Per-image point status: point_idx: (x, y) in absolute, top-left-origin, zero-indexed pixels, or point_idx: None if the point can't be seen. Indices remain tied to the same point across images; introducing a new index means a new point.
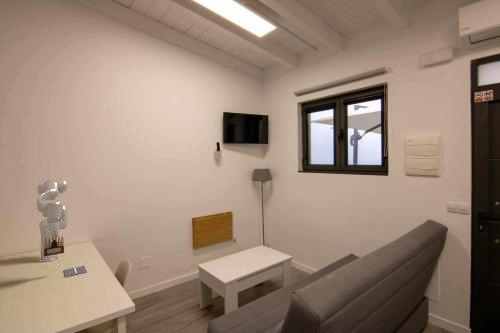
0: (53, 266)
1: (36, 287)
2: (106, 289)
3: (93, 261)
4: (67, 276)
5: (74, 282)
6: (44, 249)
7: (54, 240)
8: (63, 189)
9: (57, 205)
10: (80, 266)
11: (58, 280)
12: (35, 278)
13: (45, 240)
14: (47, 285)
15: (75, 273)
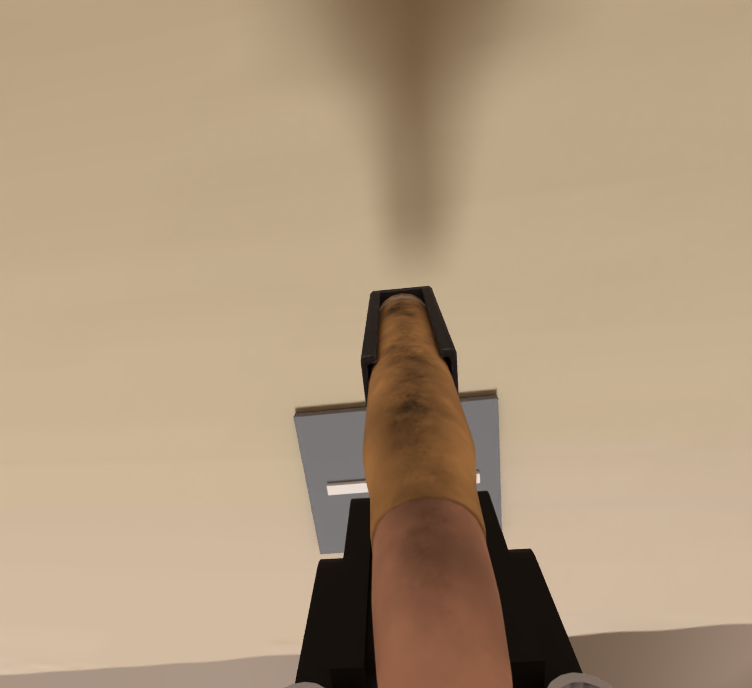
0: (723, 294)
1: (158, 211)
2: None
3: (591, 593)
4: (297, 429)
5: (141, 475)
6: (363, 350)
7: None
8: None
9: None
10: (499, 515)
11: (248, 368)
12: (428, 164)
13: (375, 622)
14: (166, 296)
15: (326, 484)
